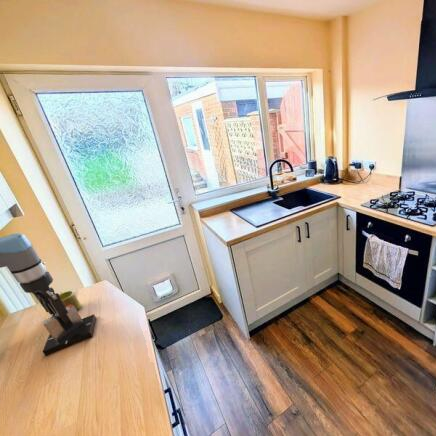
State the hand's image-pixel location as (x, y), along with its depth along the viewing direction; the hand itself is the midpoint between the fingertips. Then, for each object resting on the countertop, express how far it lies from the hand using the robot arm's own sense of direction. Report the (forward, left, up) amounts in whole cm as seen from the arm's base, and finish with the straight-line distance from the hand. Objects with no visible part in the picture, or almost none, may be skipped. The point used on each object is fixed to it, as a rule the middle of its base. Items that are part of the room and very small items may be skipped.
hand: (67, 326), depth 93 cm
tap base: (0, 0, -5) cm, 5 cm away
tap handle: (0, 0, -2) cm, 2 cm away
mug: (-5, +20, -5) cm, 21 cm away
